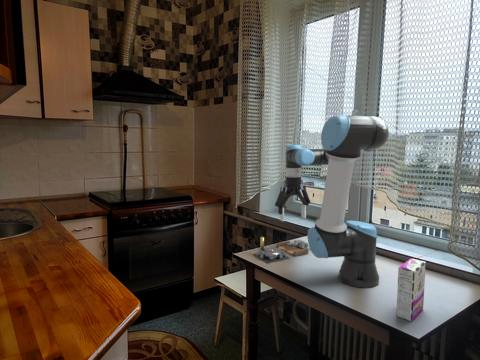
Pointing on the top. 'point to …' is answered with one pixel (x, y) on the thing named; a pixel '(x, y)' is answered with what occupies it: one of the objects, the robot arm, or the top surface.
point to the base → (271, 259)
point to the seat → (292, 249)
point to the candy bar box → (410, 289)
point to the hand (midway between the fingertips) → (292, 219)
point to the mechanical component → (298, 244)
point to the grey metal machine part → (270, 251)
